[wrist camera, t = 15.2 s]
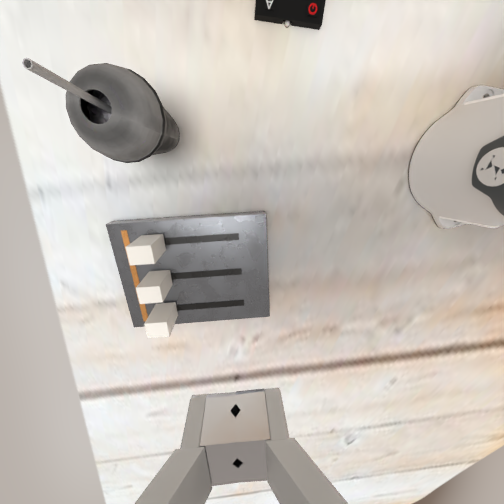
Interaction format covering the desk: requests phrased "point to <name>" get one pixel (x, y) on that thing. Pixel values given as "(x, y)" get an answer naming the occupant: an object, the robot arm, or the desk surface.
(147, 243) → the block
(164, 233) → the grey slider panel
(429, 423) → the desk surface
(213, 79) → the desk surface
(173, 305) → the block
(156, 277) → the block
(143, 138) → the beverage cup
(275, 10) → the remote control
